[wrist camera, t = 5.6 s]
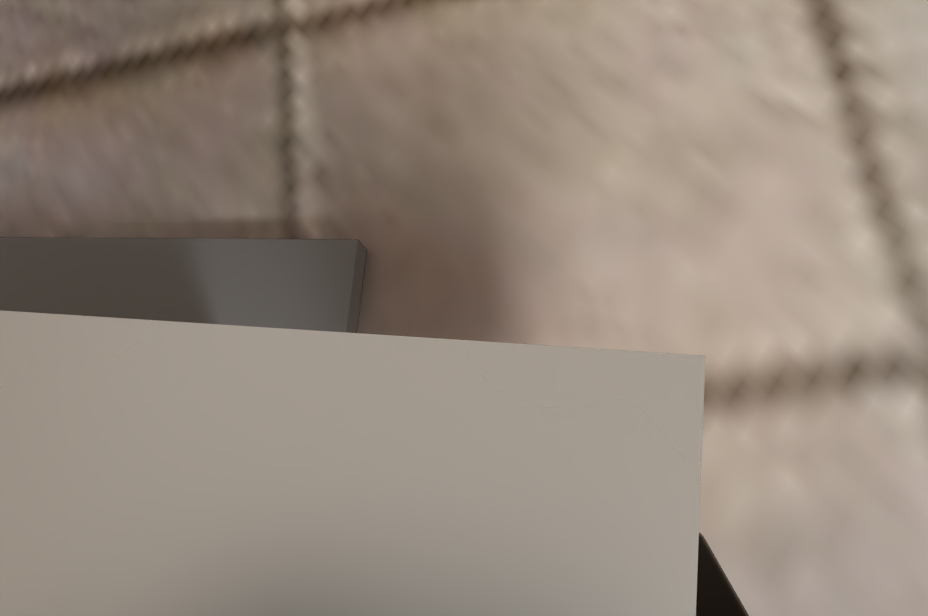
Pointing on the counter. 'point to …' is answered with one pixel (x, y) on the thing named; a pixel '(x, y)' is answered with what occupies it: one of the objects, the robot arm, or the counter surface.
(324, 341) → the steel bar
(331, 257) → the mat
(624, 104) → the counter surface
